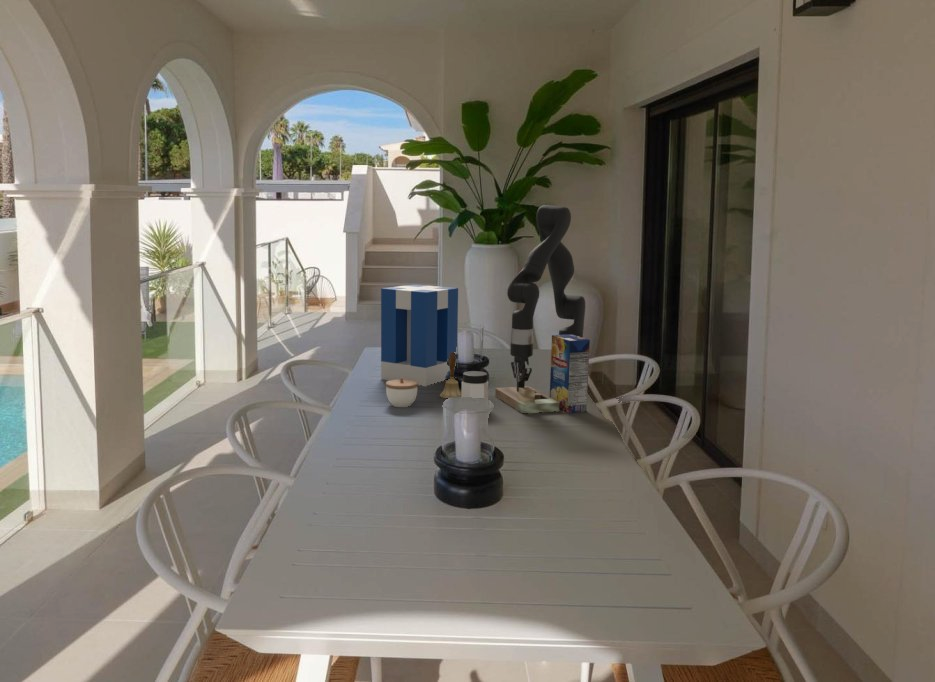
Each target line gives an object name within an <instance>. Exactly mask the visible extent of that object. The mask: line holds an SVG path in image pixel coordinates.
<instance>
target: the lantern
mask: <svg viewBox="0 0 935 682" xmlns="http://www.w3.org/2000/svg"><path fill="white" fill-rule="evenodd" d="M380 290H381V291H380V305H381V306H380V309H381V310H380V312H381V313H380V315H381V316H380V324H381V325H380V332H381V333H380V339H381V341H380V346H381V347H380V379H381V380H383V381H390V380H397V379H400V378H403V379H407V380H414V381H416V382H418V386H420V385H422V386H421V387H428V386H427V385H429V386H431V385H430V384H432V385H435V384H438V383H437V382H439V383H441V381H442V382H445V381H446V380H445V376H446V373H447V372H448V370H449V369H450V367H449V366H448V365H447V362H446V361H447V359H448V358H449V356H450V353H451V352H456V347H457V348H458V328H459V327H458V326H459V325H458V321H459V320H458V319H459V317H458V316H459V315H458V314H459V288H458V287H449V286H436V285H425V284H424V285H423V284H407V285H398V286H392V287H390V286H389V287H382V288H380ZM444 380H445V381H444ZM434 383H435V384H434Z"/></svg>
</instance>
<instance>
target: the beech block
mask: <svg viewBox="0 0 935 682" xmlns="http://www.w3.org/2000/svg"><path fill="white" fill-rule="evenodd" d="M530 387H531V386H530ZM530 387H526V388H519V400H520V401H522V402H523V403H524V402H535V390H534V389H535V388H534V389H532V388H533V387H532V388H530Z"/></svg>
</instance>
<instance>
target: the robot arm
mask: <svg viewBox="0 0 935 682" xmlns="http://www.w3.org/2000/svg"><path fill="white" fill-rule="evenodd" d="M571 221H572V213H571V210H570V209H569V208H568V207H566V206H561V205H549V204H546V205H545V204H544V205H541V206H539V208H538V209H537V212H536V225H537V229H538V233H539V235H540V238H541V241H542V242H540V243H539V244H538V245H536V246H535V247H534V248H533V249H532V250H531V251H530V252H529V254H528V256H527V257H526V259H525V262H524V264H523V266H522V269H521V270H520V271H519V272H518V273H517V274H516V275H515V277H514V278H513V279H512V280H511V282H510V283H509V285H508V287H507V293H506V294H507V298H508V300H509V301H510V302H512V303H518V304H524V305H523V306H524V307H523V308H522V309H518V310H514V311H513V312H512V315H511V316H512V317H511V333H510V349H509V350H510V353H509V354H510V355H511V356H512V357H514V359H513V361H512V362H510V365H511V370H512V373H513V374H512V375H513V378H514V379H515V381H516V387H517V392H519V388H524V387H525V386H526V382H528V381H529V379H530V376H531V374H532V371H533V370H532V369H533V368H532V367H530V362H529V358H530V357H532V356H533V355H534V315H535V311H536V308H537V304H538V301H539V298H540V289H539V286H538V284H536V283H537V282H540V280H541V279H542V277H543V274H544V272H545V270H546V267H547V268H548V272H549V277H550V279H551V280H550V281H551V285H552V292H553V299H554V307H555V313H556V316H557V317H558V318H559V319H563V320H573V323H572V324H570V325H568V326H566V327H562V328H560V329H559V331H558V335H567V334H572V335H575V336H579V337H582V338H584V330H585V329H584V328H585V327H584V326H585V317H586V316H585V315H586V314H585V313H586V300H585V297H584V296H582V295H570V294H566V293H565V290H566V288H567V286H568V284H569V283H570V281H571V279H572V278H573V276H574V275H575V274H574V273H575V266H574V260H573V256H572V253H571V252H570V250H569V249H568V248H567V247H566V245H564V243H563V242H562V240H563V238H564V237H565V235H566V234H567V231H568V229H569V228H570V225H571Z"/></svg>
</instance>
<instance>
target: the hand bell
mask: <svg viewBox="0 0 935 682" xmlns="http://www.w3.org/2000/svg"><path fill="white" fill-rule="evenodd" d="M455 366H456V356H455V353H454V352H451V353H450V356H449V367H450V379H448V380H445V381H444V382H445V384H444V388H443V391H441V393H440V394H439V397H441V398H442V399H446V398H450V397H460V396H461V389H460V386H459V381H458V380H456V379H455V378H454V369H455Z"/></svg>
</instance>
